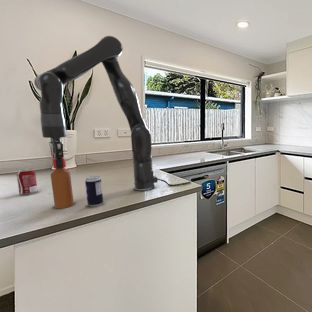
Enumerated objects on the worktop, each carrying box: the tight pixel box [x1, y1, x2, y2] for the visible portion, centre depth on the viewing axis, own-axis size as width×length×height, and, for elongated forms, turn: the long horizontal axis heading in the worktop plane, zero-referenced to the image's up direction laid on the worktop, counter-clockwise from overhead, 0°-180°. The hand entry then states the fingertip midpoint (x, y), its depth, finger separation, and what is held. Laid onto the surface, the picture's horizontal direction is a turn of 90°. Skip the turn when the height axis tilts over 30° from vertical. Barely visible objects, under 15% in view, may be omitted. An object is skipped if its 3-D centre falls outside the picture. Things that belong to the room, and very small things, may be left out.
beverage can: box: [84, 175, 104, 207], centre depth 94 cm, size 6×6×12 cm
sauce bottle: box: [50, 167, 75, 209], centre depth 92 cm, size 6×6×20 cm
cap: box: [52, 157, 67, 169], centre depth 91 cm, size 4×4×4 cm
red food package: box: [16, 168, 39, 196], centre depth 109 cm, size 7×7×12 cm
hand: (58, 167), depth 91 cm, fingers closed on cap, 4 cm apart
